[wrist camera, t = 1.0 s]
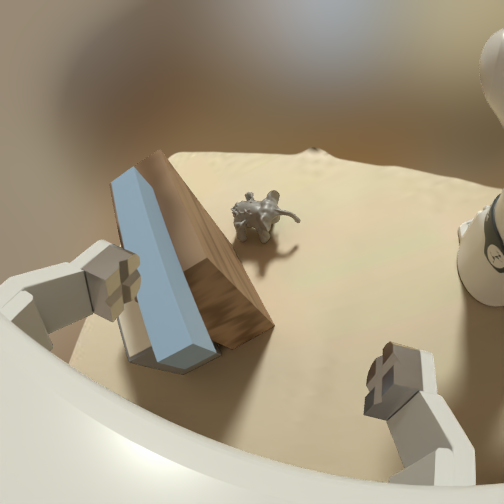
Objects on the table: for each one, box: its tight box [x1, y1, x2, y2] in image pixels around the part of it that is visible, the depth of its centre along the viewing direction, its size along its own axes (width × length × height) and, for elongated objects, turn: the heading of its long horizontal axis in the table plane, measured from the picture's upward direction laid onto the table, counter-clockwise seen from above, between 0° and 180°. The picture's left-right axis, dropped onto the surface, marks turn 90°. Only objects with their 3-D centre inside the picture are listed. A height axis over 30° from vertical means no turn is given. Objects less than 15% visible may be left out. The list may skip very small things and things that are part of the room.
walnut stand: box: [110, 149, 275, 349], centre depth 43 cm, size 8×18×26 cm, turn 26°
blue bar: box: [111, 167, 217, 369], centre depth 26 cm, size 3×20×4 cm, turn 26°
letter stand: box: [117, 247, 222, 375], centre depth 48 cm, size 8×18×15 cm, turn 26°
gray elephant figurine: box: [231, 190, 300, 243], centre depth 55 cm, size 9×12×8 cm
